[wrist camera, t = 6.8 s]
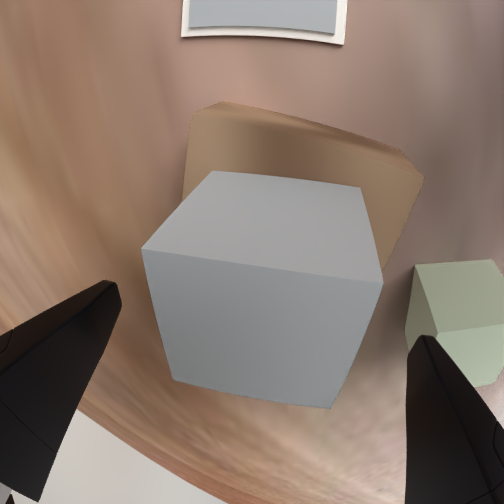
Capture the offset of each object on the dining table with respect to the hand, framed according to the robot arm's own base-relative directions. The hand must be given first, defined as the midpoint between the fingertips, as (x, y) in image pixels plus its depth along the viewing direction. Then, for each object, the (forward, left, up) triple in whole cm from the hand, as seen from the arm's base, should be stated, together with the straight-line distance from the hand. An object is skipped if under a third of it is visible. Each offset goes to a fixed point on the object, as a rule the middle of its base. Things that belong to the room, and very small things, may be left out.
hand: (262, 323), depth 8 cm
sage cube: (-10, +4, -8) cm, 13 cm away
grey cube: (0, 0, -4) cm, 4 cm away
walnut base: (0, 0, -8) cm, 8 cm away
